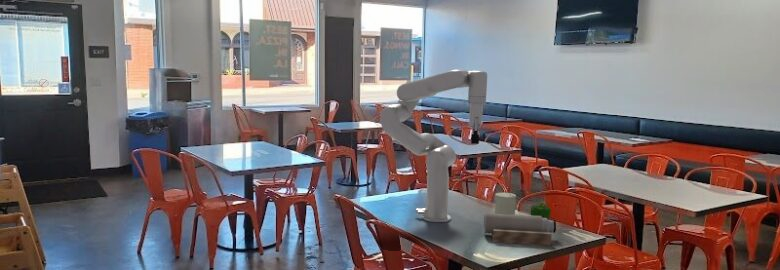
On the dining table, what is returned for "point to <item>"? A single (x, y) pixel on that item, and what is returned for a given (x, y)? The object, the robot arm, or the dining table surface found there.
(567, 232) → the dining table surface
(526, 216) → the thermos bottle
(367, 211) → the dining table surface
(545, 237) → the bottle rest
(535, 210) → the bell pepper
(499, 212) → the can
